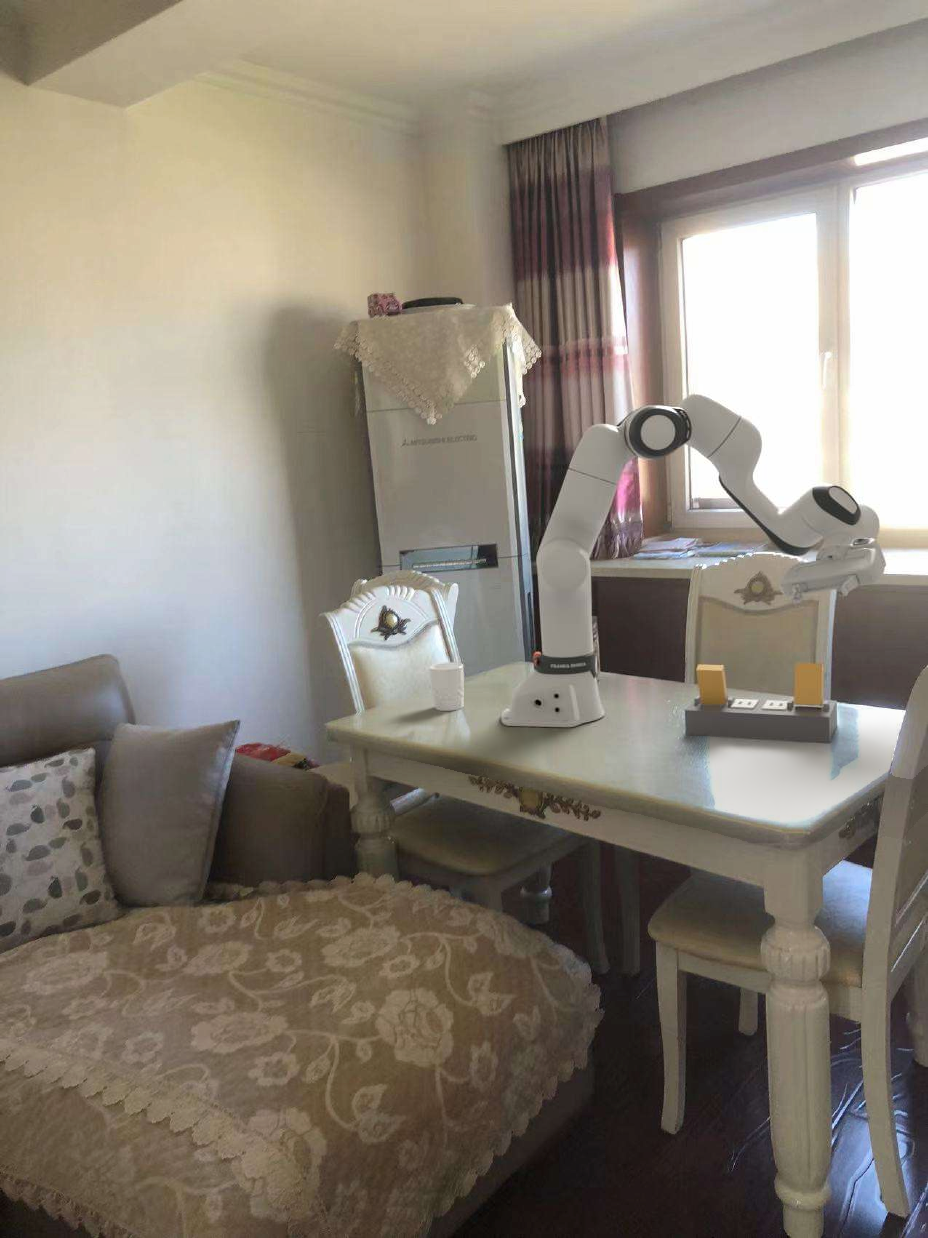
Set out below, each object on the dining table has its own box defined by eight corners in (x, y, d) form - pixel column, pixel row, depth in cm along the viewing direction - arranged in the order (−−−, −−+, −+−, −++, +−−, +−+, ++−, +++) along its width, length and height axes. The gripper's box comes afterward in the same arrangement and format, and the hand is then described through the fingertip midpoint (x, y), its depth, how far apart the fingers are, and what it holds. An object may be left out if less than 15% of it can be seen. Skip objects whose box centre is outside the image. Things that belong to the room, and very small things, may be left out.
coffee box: (594, 687, 241) (590, 622, 238) (568, 687, 243) (564, 622, 240) (601, 678, 249) (598, 615, 247) (576, 678, 251) (572, 615, 249)
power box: (685, 734, 197) (684, 704, 196) (700, 718, 208) (699, 689, 207) (829, 743, 185) (829, 710, 184) (837, 725, 196) (836, 694, 195)
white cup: (430, 712, 229) (426, 670, 228) (435, 703, 237) (432, 663, 235) (464, 711, 228) (461, 668, 227) (468, 702, 236) (465, 661, 234)
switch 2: (793, 704, 192) (795, 662, 193) (795, 704, 194) (796, 664, 195) (821, 705, 190) (822, 663, 191) (822, 706, 191) (823, 664, 193)
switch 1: (700, 703, 200) (696, 669, 197) (703, 697, 202) (698, 664, 198) (726, 704, 198) (721, 670, 194) (727, 698, 199) (723, 665, 196)
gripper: (787, 555, 209) (763, 591, 201) (883, 536, 194) (862, 575, 186) (798, 579, 211) (775, 616, 203) (894, 563, 196) (874, 602, 188)
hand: (817, 596), depth 194 cm, fingers open, 8 cm apart
